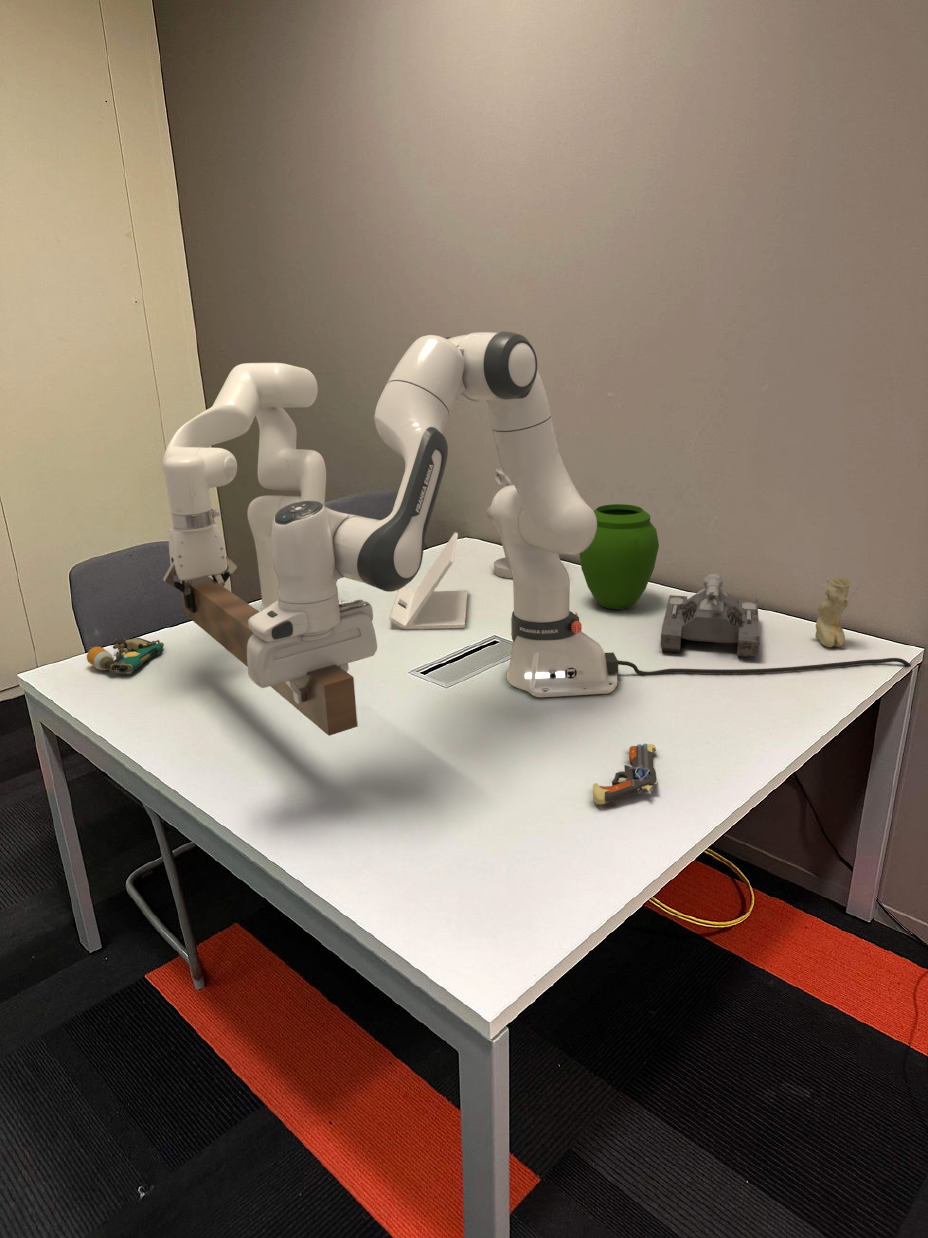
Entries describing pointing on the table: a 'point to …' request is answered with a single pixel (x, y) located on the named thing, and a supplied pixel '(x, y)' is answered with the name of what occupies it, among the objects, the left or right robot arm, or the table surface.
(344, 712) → the post
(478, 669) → the table surface
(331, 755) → the table surface
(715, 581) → the toy
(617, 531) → the vase
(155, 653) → the spray gun
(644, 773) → the toy gun
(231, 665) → the table surface
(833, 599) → the sculpture
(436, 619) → the tablet stand
